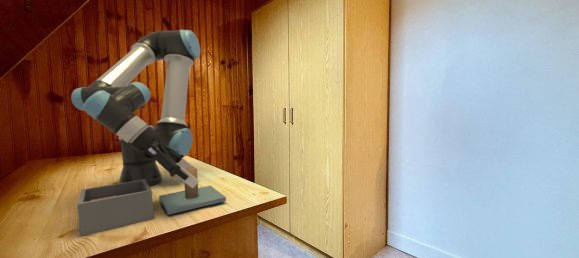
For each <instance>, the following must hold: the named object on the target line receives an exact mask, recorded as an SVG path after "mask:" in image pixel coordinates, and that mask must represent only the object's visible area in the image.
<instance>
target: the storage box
mask: <svg viewBox="0 0 579 258" xmlns="http://www.w3.org/2000/svg"><path fill="white" fill-rule="evenodd" d="M76 207H77V215H78V225H79V233H80V235H79V236H80V237H84V236H87V235H88V236H89V235H92V234H95V233H101V232H104V231H108V230H112V229H116V228H121V227H126V226H129V225H132V224H133V225H134V224H136V223H137V224H138V223H141V222H144V221H149V220H153V219H155V215H154V214H155V213H154V201H153V190H152V188H151V186H149V185H148V183H147V181H146V179H143V180H137V181H131V182H125V183H119V182H118V183H112V184H107V185H101V186H95V187H89V188H82V189H81V190H80V194H79V198H78V200H77V206H76Z"/></svg>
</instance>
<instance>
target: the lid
mask: <svg viewBox="0 0 579 258" xmlns="http://www.w3.org/2000/svg"><path fill="white" fill-rule="evenodd" d="M197 169H198V168H197V167H195V168H186V169H185V170H186V171H187V172H189V173H190V174H191V175H192V176H194V177H195V178H196V179H198V180H199V178H198V171H197ZM183 186H184V190H181V191H175V192H170V193H167V194H166V193H165V194H161V195H158V199H159V201H160V204H161V205H162V206H163V208H164V210H165V211H166V212H165V213H167V215H173V214H177V213H181V212H185V211H190V210H193V209H197V208H201V207H206V206H207V207H208V206H209V207H210V206H213V205H217V204H219V203H222V202H223V203H224V202H226V201H227V197H226V195H224V194H223V193H221V192H220V191H218V190H217V189H216V188H215V187H213V186H212V185H205V186H200V187H199V182H198V183H197V184H196V185H195V186H194V188H191V187H190V186H189V185H187V184H186V183H185V182H184V185H183Z"/></svg>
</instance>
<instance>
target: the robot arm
mask: <svg viewBox="0 0 579 258" xmlns="http://www.w3.org/2000/svg"><path fill="white" fill-rule="evenodd" d="M200 55H201V46H200V43H199V39H198V38H197V36H196V34H195V32H193V31H192V30H190V29H179V30H160V31H159V30H158V31H154V32H151V33H149V34H147V35H145V36H143V37H141V38H140V39H139V40H137V41H136V42H134V43H133V44H132V45H131V47H130V51H129V52H128V53H126V54H125V55H124V56H123V57H122V58H121V59H119V60H117V62H116V63H115V64H114V65H113V66H111V67H110V68H108V70H107V71H106V72H104V73H103V74H102V75H101V76H99V77H98V78H97V79H96V80H95V81H94V82H93V83H91V84H90V85H89V86H87V87H86V86H83V87H78V88H75V89H74V90H73V91H72V92H71V96H70V97H71V98H70V99H71V103H72V105H73V106H74V107H75V108H77V109H78V110H80V111H85V112H86V113H87V114H88V115H89V116H90V117H92V119H93V120H94V121H97V122H98V123H99V124H101V125H102V126H104V127H106V129H108V130H109V131H111V133H113V134H114V135H116V136H118V140H119V141H120V148H121V159H122V168H121V169H122V170H121V173H120V177H119V182H118V184H119V183H125V182H131V181H137V180H143V179H146V181H147V183H148V185H149V187H152V186H156V185H158V184H161V182H162V181H163V176H162V173H161V170H160V169H159V166H158V164H159V165H160V166H161V167H163V169H164V170H165V171H166V172H168V173H169V176H171V177H172V178H173V177H177V178H178V179H180V180H181V181H182V182H185V183H186V184H187V185H189V186H190V187H191V188H194V186H195V185H196V184H197V183H198V184H199V182H200V180H199V178H198V179H196V178H195V177H194V176H192V175H191V174H190V173H189V172H187V171H186V170H185V169H186V168H196V167H195V166H194V165H193V164H192V163H191V162H189V161H187V160H186V159H185V158H184V157H186V156H187V155H188V154H189V153H190V151H191V149H192V146H193V143H194V142H193V141H194V139H193V138H194V137H193V132H192V131H191V129H189V125H188V124H187V122H186V121H185V117H186V110H187V109H186V108H187V107H186V106H187V97H188V88H189V87H188V86H189V75H190V68H192V66H193V65H194V63H195V61H194V60H197V59H199V57H200ZM161 60H164V62H165V63H166V65H167V66H166V74H165V81H164V82H165V83H164V89H163V91H164V92H163V98H162V108H161V109H162V110H161V118H160V119H159V120H157V122H156V124H155V128H154V125H148V123H146V122H145V121H144V120H143V119H142V118H140V117H139V116H138V115H137V114H135V112H136V111H138V110H139V109H140V108H142V107H144V106H145V105H146V103H148V102H149V101H150V99H151V92H150V89H149V88H148V86H146V85H145V84H144V83H142V82H140V81H134V82H132V81H133V80H134V79H135V78H136V77H137V76H138V75H140V73H141V72H142V71H143V70H144V69H145V68H146V67H147V66H151V65H153V64H154V62H156V61H161ZM157 163H158V164H157ZM198 171H199V169H198V168H197V172H198Z"/></svg>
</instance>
